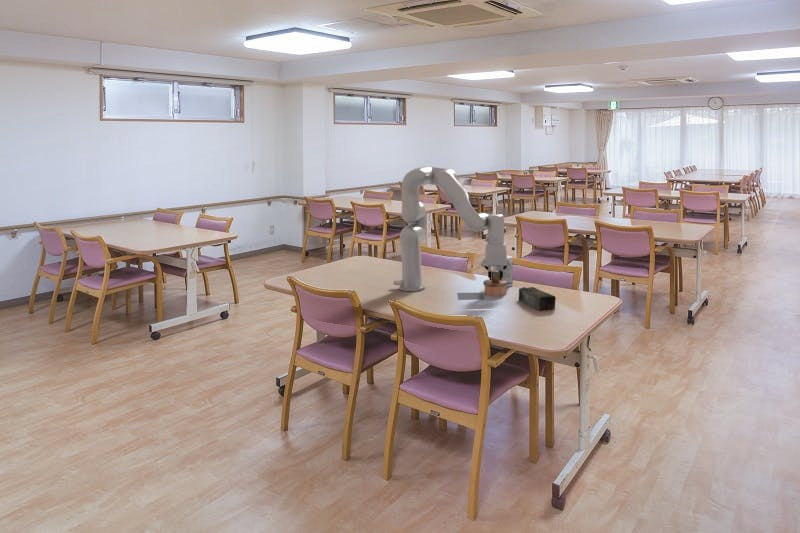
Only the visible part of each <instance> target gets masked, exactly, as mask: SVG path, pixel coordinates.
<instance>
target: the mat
mask: <svg viewBox="0 0 800 533" xmlns="http://www.w3.org/2000/svg"><path fill="white" fill-rule="evenodd" d="M456 294H457V295H456V296H457V300H458V301H461V300H463V301H465V300H467V301H469V300H472V301H473V300H475V301H476V300H479V301H480V300H485V297H484V293H483V292H457V293H456Z"/></svg>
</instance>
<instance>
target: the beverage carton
mask: <svg viewBox="0 0 800 533" xmlns="http://www.w3.org/2000/svg"><path fill="white" fill-rule="evenodd" d="M518 301H519V302H521V301H522V302H521V303H523V302H524V303H523V304H525V305H527V306H529V307H530V308H533V309H534V310H538V311H539V312H544V311H543V310H545V311H551V310H553V309H556V296H555V295H553V294H550V293H549V292H545V291H543V290H541V289H538V288H537V287H533V286H532V287H531V286H530V287H526V286H523V287H520V288H518Z"/></svg>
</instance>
